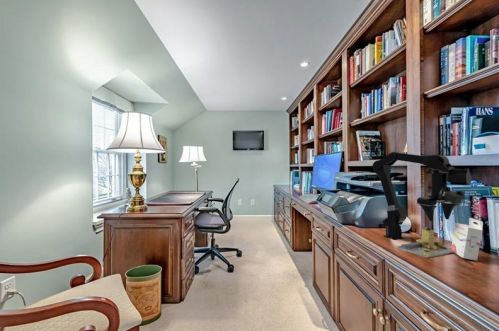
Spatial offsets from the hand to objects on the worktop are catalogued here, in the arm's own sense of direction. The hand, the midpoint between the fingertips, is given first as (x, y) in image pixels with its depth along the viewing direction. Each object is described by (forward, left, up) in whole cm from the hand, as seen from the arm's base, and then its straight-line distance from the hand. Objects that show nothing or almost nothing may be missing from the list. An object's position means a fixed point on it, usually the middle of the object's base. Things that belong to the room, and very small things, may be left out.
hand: (439, 220), depth 108 cm
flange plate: (+1, -8, -12) cm, 14 cm away
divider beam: (-1, -8, -11) cm, 14 cm away
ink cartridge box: (+11, -4, -12) cm, 16 cm away
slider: (-1, -6, -11) cm, 13 cm away
